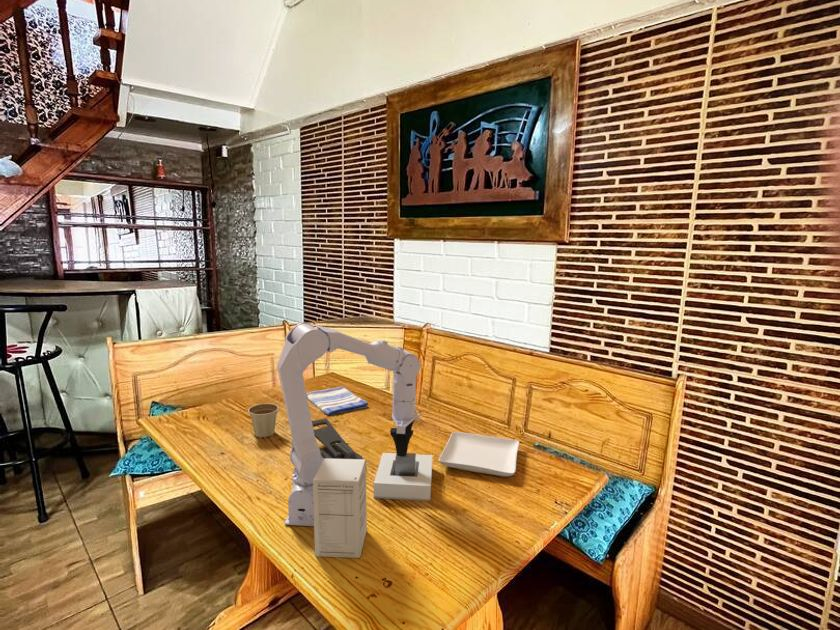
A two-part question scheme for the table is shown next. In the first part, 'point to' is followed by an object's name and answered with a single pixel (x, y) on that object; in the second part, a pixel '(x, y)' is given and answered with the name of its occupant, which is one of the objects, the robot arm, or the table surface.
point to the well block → (403, 479)
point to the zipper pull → (333, 442)
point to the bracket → (405, 465)
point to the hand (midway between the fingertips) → (403, 448)
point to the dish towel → (336, 400)
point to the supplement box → (340, 508)
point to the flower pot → (263, 419)
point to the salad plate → (480, 454)
